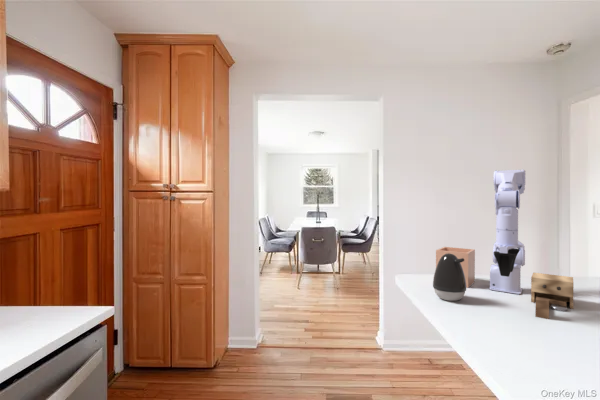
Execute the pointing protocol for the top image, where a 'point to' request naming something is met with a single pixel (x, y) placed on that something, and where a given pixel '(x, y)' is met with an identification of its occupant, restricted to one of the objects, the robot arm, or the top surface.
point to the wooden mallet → (545, 306)
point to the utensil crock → (467, 264)
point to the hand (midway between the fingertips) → (506, 273)
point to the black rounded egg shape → (449, 278)
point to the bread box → (552, 287)
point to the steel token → (558, 307)
